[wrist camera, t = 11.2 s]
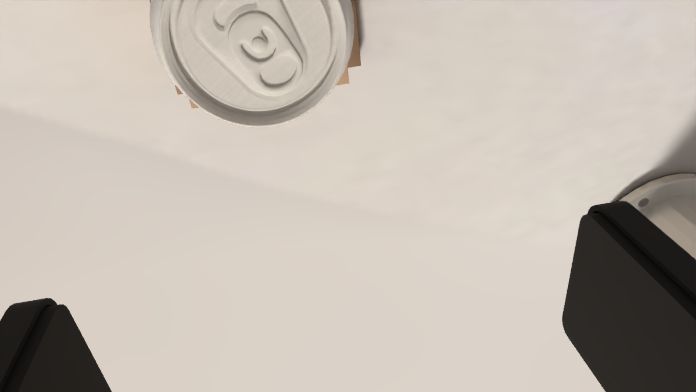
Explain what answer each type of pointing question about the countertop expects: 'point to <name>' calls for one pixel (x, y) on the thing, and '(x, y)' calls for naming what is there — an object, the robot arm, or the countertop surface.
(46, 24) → the countertop surface
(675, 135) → the countertop surface
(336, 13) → the beer can
